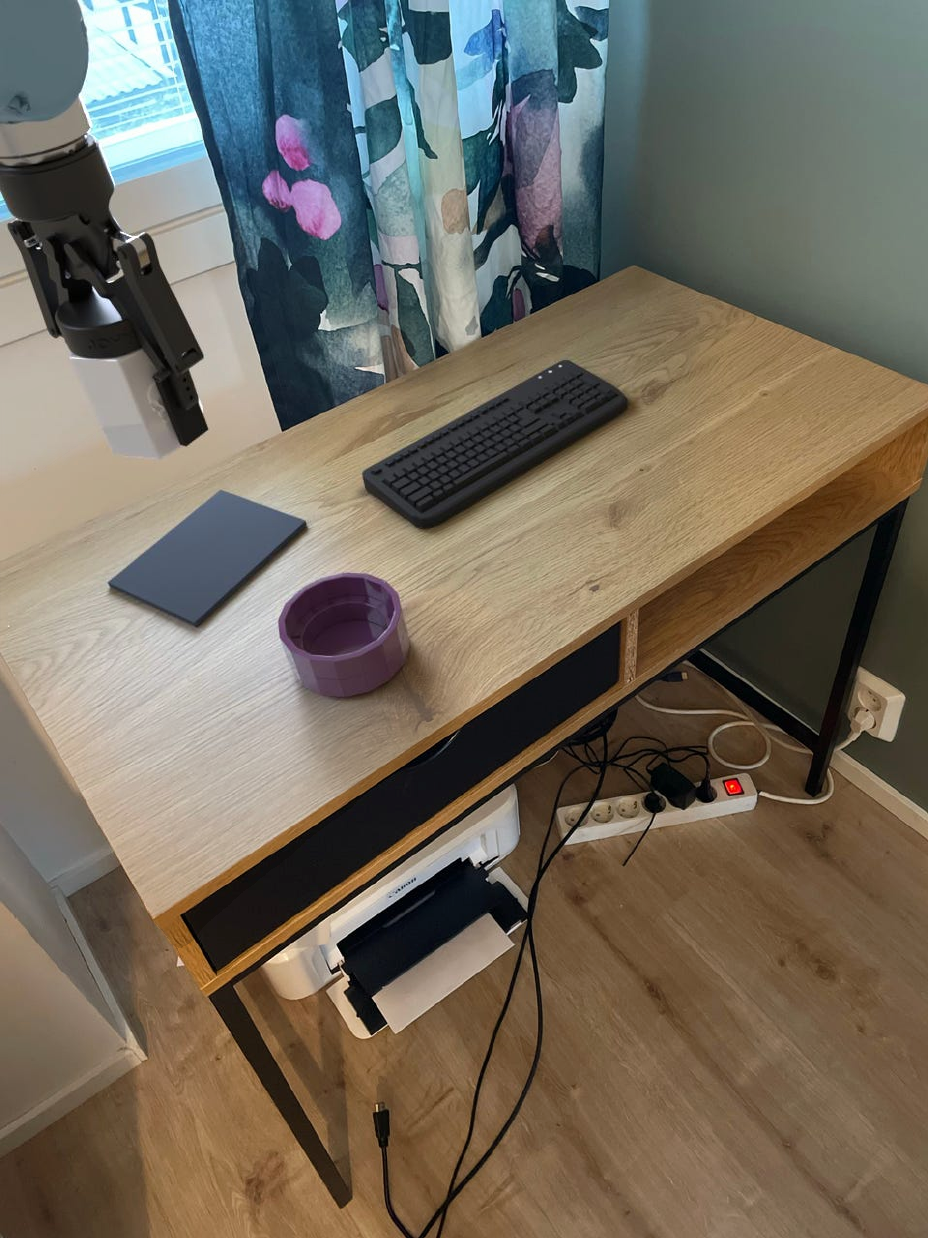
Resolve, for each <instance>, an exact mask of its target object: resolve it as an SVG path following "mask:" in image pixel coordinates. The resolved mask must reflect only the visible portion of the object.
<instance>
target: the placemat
mask: <svg viewBox="0 0 928 1238" xmlns="http://www.w3.org/2000/svg"><path fill="white" fill-rule="evenodd" d="M307 524H308V523H307V521H306V520H305V519H302V518H299V517H297V516H294V515H291V514H288V513H285V512H283V511H280V510H278V509H275V508H272V507H269V506H266V505H264V504H261V503H258V502H255V501H254V500H250V499H247V498H245V497H242V496H239V495H237V494H234V493H231V492H229V491H226V490H223V489H219V490H218V491H217V492H215V493H214V494H213V495H212V496H210V497H209V498H208V499H207V500H206V501H205V502H204V503H202V504H201V505H200V506H199V507H197V508H196V509H195V510H194V511H192V512H191V513H190V514H189V515H187V516H186V517H185V518H183V519H182V520H181V521H180V522H179V523H178V524H176V525H175V526H174V527H173V528H171V530H169V531H167V533H165V535H163V536H162V537H161V538H160V539H158V540H157V541H156V542H155V543H153V544H152V545H151V546H150V547H148V548H147V549H146V550H145V551H144V552H143V553H141V554H140V555H139V556H137V557H136V558H135V559H134V560H133V561H132V562H130V563H129V564H128V565H127V566H126V567H124V568H123V569H122V570H121V571H119V572H118V573H116V575H115V576H113V577H112V578H111V579H110V580H108V582H107V584H108V587H110V588H112V589H113V590H117V591H118V592H120V593H122V594H124V595H127V596H128V597H131V598H133V599H135V600H137V601H140V602H142V603H144V604H146V605H147V606H150V607H152V608H155V609H156V610H158V611H160V612H163V613H164V614H167V615H169V616H172V617H174V618H175V619H177V620H180V621H182V622H184V623H187V624H189V625H191V626H193V627H195V628H197V627H198V626H200V625H201V624H202V623H203V622H204V621H205V620H206V619H207V618H209V616H210V615H211V614H213V613H214V612H215V611H216V610H217V609H218V608H219V607H220V606H221V605H223V604H224V602H225V601H227V600H228V599H229V598H230V597H231V596H232V595H233V594H234V593H235V592H236V591H237V590H239V589H240V588H241V587H242V586H243V585H244V584H245V583H246V582H247V581H249V579H250V578H252V577H253V575H255V574H256V573H257V572H258V571H259V570H260V569H261V568H262V567H264V566H265V565H266V564H267V563H268V562H269V561H270V560H271V559H272V558H273V557H274V556H276V555H277V553H279V552H280V550H282V549H283V548H284V547H285V546H286V545H287V544H289V542H291V541H292V540H293V539H294V538H295V537H296V536H297V535H298V534H299V533H300V532H301V531H302V530H304V529H305V527H307V526H308V525H307Z"/></svg>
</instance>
